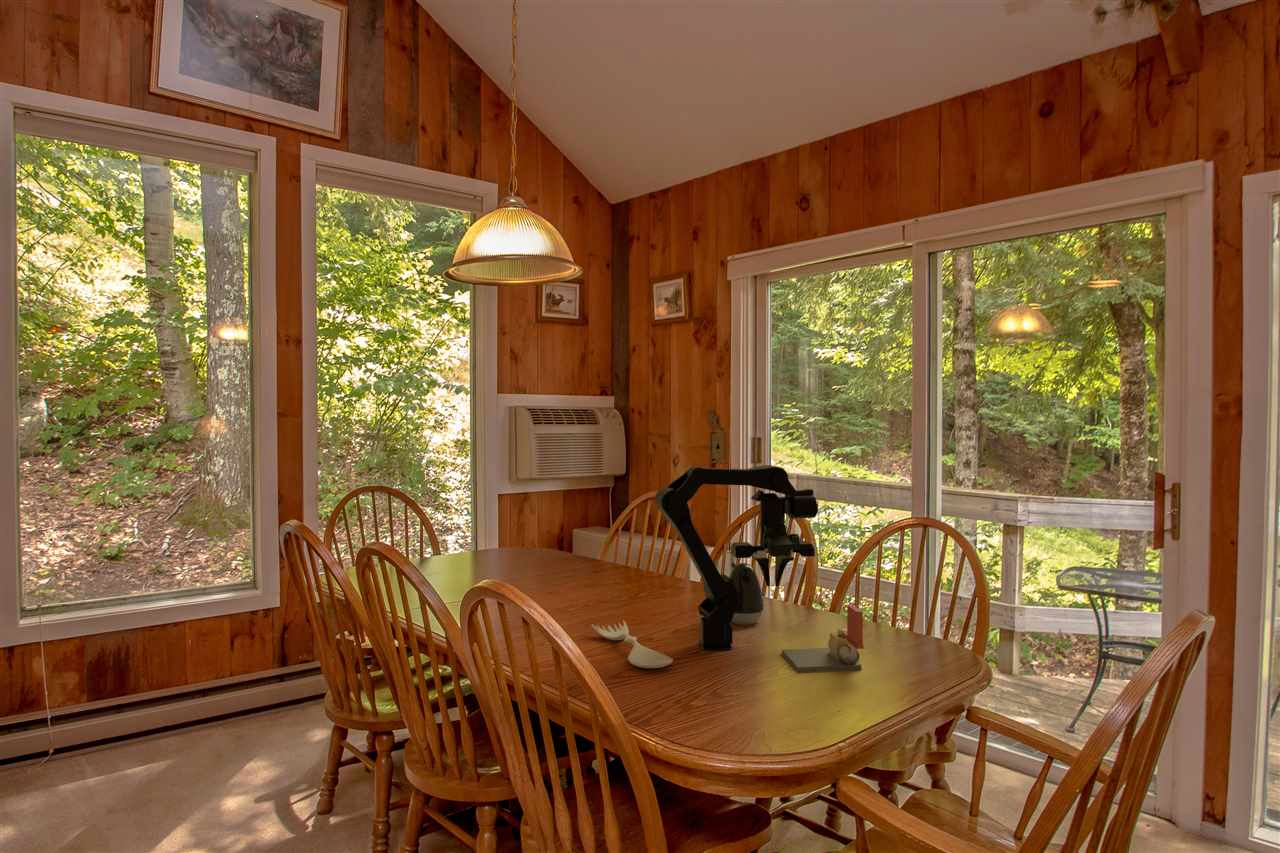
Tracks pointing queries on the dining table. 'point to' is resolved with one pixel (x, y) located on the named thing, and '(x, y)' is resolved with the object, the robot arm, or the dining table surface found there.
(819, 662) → the mounting board
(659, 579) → the dining table surface
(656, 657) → the white double-ended utensil part
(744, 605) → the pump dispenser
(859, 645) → the valve lever
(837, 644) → the ball valve
